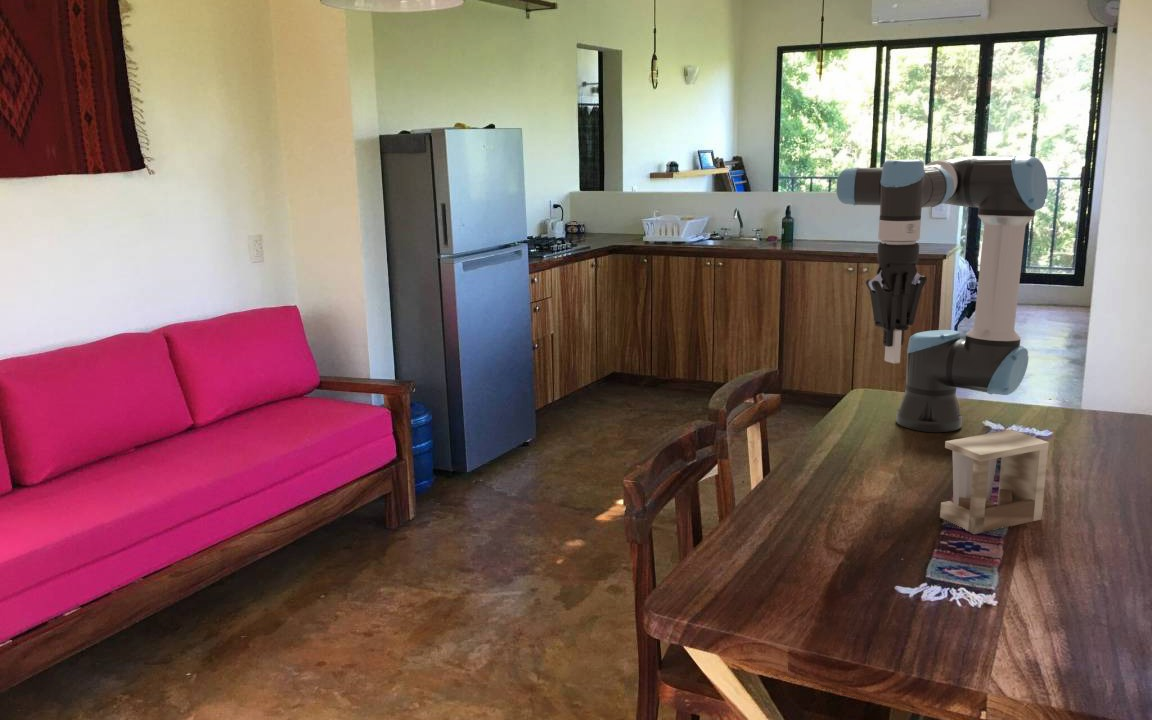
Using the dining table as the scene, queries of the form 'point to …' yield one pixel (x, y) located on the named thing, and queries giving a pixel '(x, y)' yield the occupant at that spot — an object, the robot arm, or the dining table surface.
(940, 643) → the dining table surface
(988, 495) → the cup
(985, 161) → the robot arm
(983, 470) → the shelf
